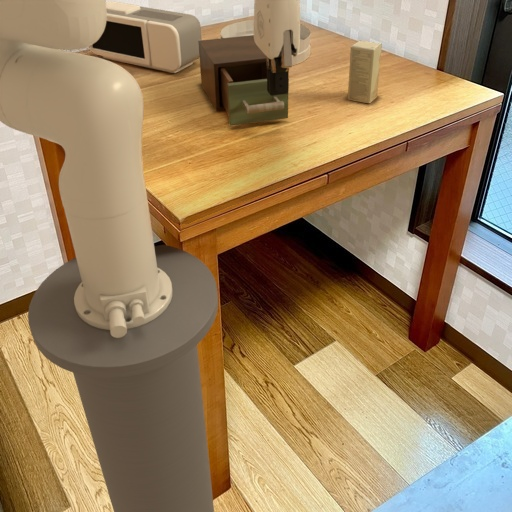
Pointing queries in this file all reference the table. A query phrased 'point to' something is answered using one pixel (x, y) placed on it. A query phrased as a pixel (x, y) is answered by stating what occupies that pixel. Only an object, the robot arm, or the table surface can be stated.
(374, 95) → the box
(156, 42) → the alarm clock
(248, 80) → the drawer
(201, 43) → the cabinet
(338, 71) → the table surface
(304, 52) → the dish
